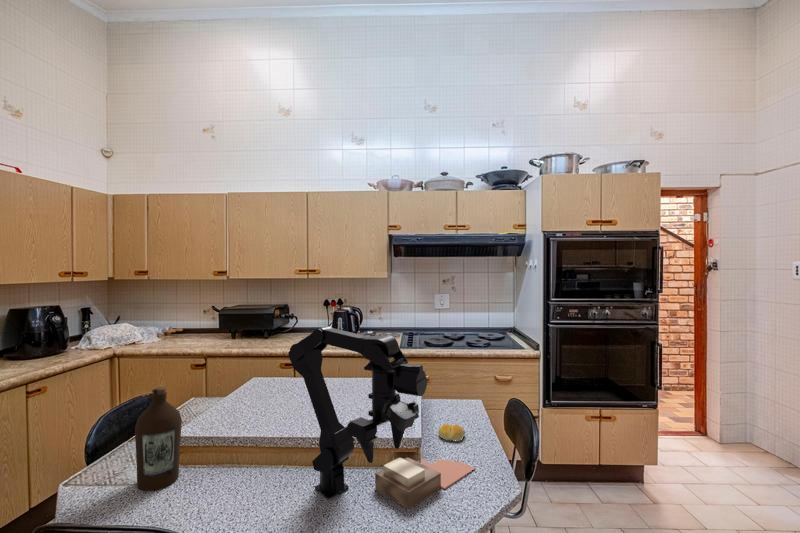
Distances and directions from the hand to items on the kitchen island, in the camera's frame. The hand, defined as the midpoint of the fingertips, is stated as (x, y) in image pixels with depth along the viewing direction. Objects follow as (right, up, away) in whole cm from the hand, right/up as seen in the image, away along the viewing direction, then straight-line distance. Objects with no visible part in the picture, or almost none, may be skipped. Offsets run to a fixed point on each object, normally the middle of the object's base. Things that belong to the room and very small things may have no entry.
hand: (384, 455), depth 89 cm
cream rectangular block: (+5, -8, +6) cm, 11 cm away
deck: (+6, -12, +7) cm, 15 cm away
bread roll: (+22, -13, +38) cm, 46 cm away
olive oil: (-61, -13, +11) cm, 64 cm away
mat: (+15, -13, +17) cm, 26 cm away
